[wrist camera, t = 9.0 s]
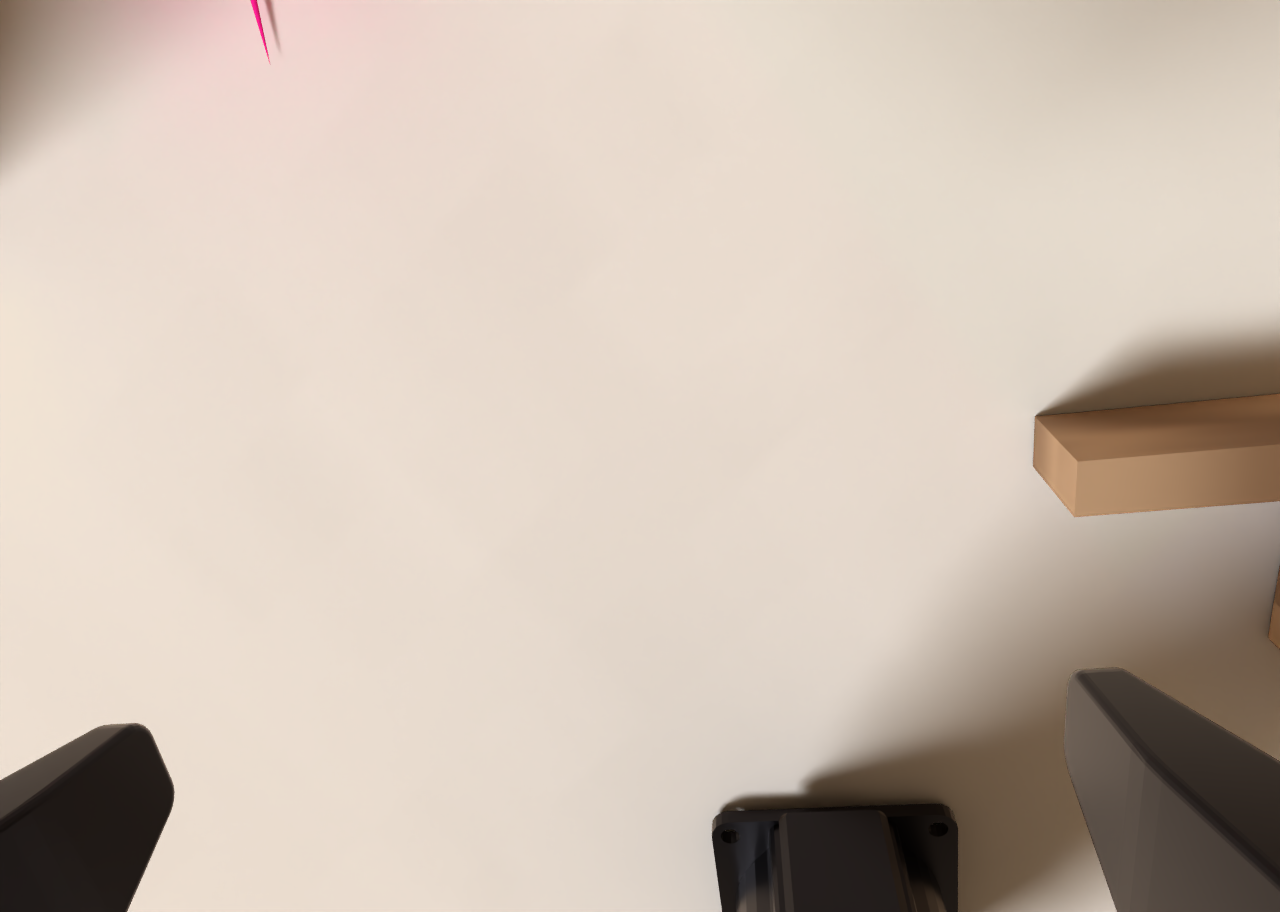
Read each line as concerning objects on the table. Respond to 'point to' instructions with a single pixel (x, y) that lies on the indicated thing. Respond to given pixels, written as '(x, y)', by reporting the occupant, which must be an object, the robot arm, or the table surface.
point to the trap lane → (1164, 459)
